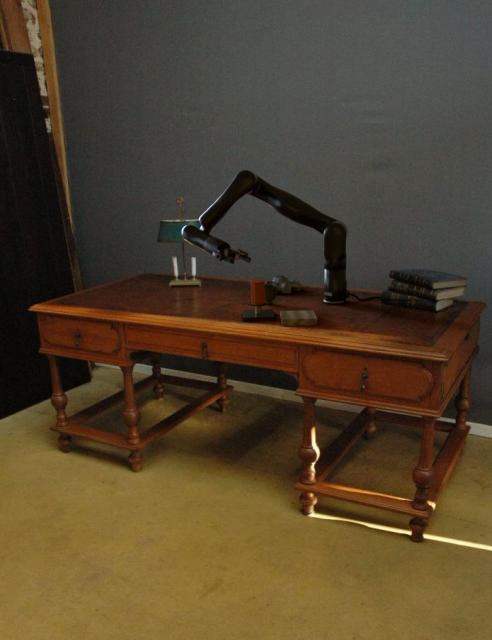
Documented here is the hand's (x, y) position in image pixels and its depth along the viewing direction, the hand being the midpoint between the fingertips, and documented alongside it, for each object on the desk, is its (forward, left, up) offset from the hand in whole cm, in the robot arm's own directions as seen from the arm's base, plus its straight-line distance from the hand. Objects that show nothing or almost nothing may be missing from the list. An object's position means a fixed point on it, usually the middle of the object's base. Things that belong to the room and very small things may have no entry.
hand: (241, 261), depth 259 cm
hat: (-6, +9, -15) cm, 18 cm away
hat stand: (-6, +9, -20) cm, 23 cm away
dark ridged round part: (-11, -12, -21) cm, 26 cm away
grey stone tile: (-21, +17, -20) cm, 34 cm away
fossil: (-19, -37, -21) cm, 47 cm away
